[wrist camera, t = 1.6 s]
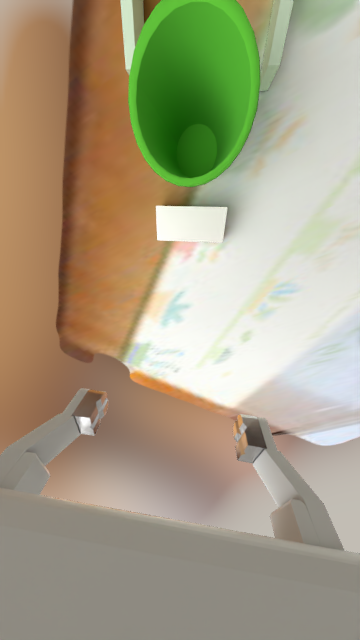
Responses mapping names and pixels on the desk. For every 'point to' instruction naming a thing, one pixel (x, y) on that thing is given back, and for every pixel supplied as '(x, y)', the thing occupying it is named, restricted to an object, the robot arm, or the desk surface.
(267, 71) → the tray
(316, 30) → the desk surface
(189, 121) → the cup
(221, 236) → the eraser
